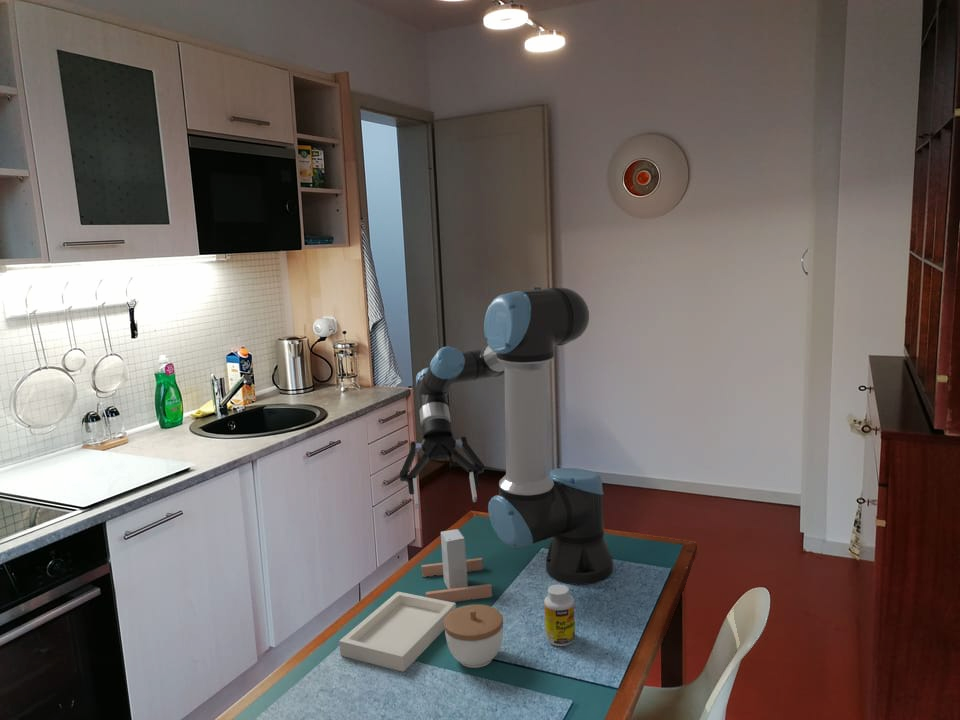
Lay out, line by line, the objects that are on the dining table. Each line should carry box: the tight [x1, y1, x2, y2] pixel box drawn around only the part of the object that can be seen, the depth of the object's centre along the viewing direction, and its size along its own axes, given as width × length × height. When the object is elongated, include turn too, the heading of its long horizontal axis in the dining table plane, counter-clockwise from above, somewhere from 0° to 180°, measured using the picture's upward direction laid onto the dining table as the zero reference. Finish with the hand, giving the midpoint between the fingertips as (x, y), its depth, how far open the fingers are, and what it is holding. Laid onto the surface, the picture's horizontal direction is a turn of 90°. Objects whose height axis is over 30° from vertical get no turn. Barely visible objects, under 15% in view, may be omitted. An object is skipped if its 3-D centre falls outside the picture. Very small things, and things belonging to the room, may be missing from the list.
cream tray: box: [338, 591, 457, 673], centre depth 138 cm, size 20×14×3 cm
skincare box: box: [440, 528, 469, 589], centre depth 156 cm, size 6×4×12 cm
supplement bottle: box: [543, 584, 576, 647], centre depth 133 cm, size 6×6×10 cm
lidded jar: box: [444, 604, 504, 669], centre depth 128 cm, size 11×11×9 cm
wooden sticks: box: [421, 557, 493, 603], centre depth 157 cm, size 14×14×2 cm
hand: (446, 502), depth 165 cm, fingers open, 13 cm apart
